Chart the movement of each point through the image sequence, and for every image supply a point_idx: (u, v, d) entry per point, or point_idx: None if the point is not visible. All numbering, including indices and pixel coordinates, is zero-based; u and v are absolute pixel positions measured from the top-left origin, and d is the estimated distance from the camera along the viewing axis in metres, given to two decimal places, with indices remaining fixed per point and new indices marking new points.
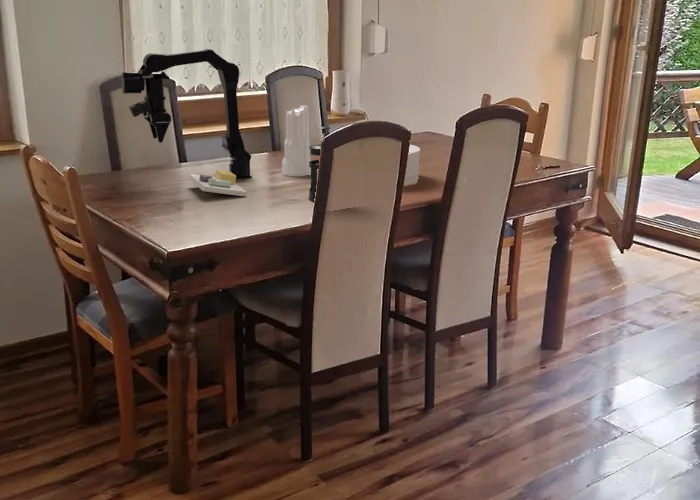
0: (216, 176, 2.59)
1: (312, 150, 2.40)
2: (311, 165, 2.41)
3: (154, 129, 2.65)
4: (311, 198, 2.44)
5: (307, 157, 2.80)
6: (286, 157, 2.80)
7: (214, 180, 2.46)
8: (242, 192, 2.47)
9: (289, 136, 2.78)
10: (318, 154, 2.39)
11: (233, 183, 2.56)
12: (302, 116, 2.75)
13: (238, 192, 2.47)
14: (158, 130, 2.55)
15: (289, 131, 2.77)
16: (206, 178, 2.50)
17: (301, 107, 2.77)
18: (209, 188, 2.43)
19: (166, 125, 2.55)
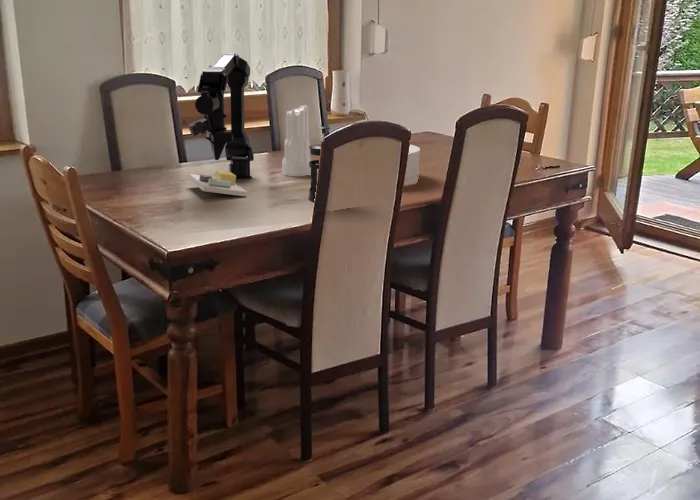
0: (216, 176, 2.59)
1: (312, 150, 2.40)
2: (311, 165, 2.41)
3: None
4: (311, 198, 2.44)
5: (307, 157, 2.80)
6: (286, 157, 2.80)
7: (214, 180, 2.46)
8: (242, 192, 2.47)
9: (289, 136, 2.78)
10: (318, 154, 2.39)
11: (233, 183, 2.56)
12: (302, 116, 2.75)
13: (238, 192, 2.47)
14: (215, 147, 2.47)
15: (289, 131, 2.77)
16: (206, 178, 2.50)
17: (301, 107, 2.77)
18: (209, 188, 2.43)
19: (223, 142, 2.47)
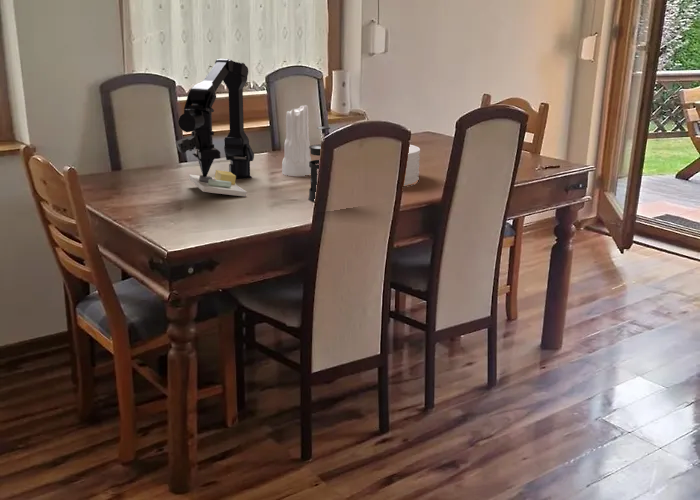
0: (216, 176, 2.59)
1: (312, 150, 2.40)
2: (311, 165, 2.41)
3: None
4: (311, 198, 2.44)
5: (307, 157, 2.80)
6: (286, 157, 2.80)
7: (213, 181, 2.46)
8: (242, 192, 2.47)
9: (289, 136, 2.78)
10: (318, 154, 2.39)
11: (233, 183, 2.56)
12: (302, 116, 2.75)
13: (238, 192, 2.47)
14: (203, 164, 2.48)
15: (289, 131, 2.77)
16: (206, 178, 2.50)
17: (301, 107, 2.77)
18: (209, 189, 2.43)
19: (211, 159, 2.49)
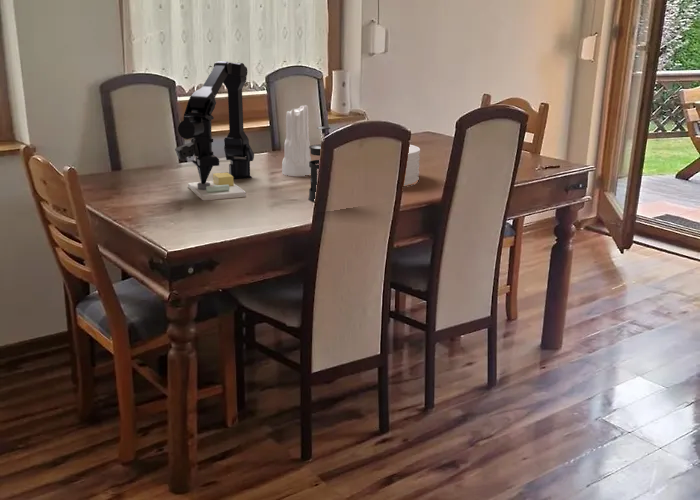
0: (214, 180, 2.59)
1: (312, 150, 2.40)
2: (311, 165, 2.41)
3: None
4: (311, 198, 2.44)
5: (307, 157, 2.80)
6: (286, 157, 2.80)
7: (211, 187, 2.46)
8: (241, 193, 2.47)
9: (289, 136, 2.78)
10: (318, 154, 2.39)
11: (232, 184, 2.56)
12: (302, 116, 2.75)
13: (237, 194, 2.47)
14: (202, 171, 2.49)
15: (289, 131, 2.77)
16: (204, 186, 2.50)
17: (301, 107, 2.77)
18: (208, 196, 2.43)
19: (210, 166, 2.49)
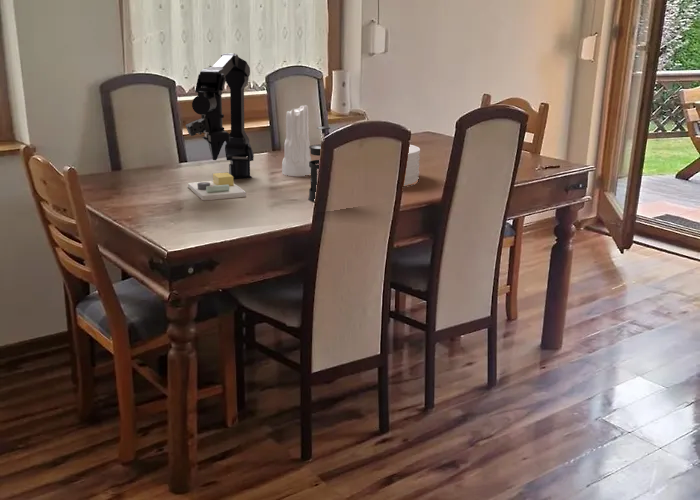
0: (214, 180, 2.59)
1: (312, 150, 2.40)
2: (311, 165, 2.41)
3: None
4: (311, 198, 2.44)
5: (307, 157, 2.80)
6: (286, 157, 2.80)
7: (211, 187, 2.46)
8: (241, 193, 2.47)
9: (289, 136, 2.78)
10: (318, 154, 2.39)
11: (232, 184, 2.56)
12: (302, 116, 2.75)
13: (237, 194, 2.47)
14: (213, 147, 2.47)
15: (289, 131, 2.77)
16: (204, 186, 2.50)
17: (301, 107, 2.77)
18: (208, 196, 2.43)
19: (221, 142, 2.47)
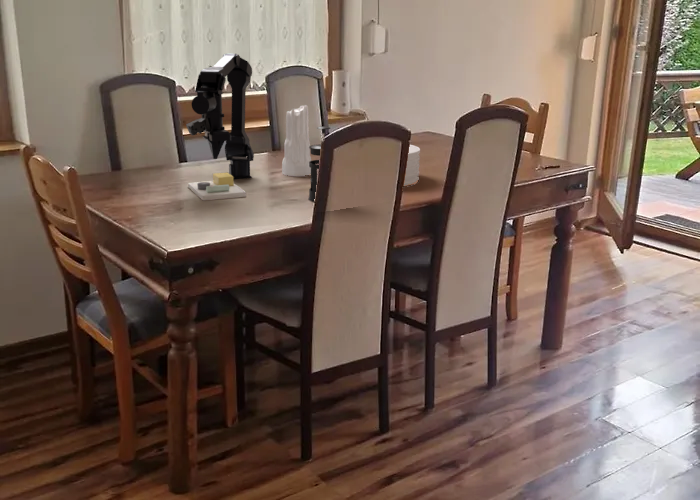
0: (214, 180, 2.59)
1: (312, 150, 2.40)
2: (311, 165, 2.41)
3: None
4: (311, 198, 2.44)
5: (307, 157, 2.80)
6: (286, 157, 2.80)
7: (211, 187, 2.46)
8: (241, 193, 2.47)
9: (289, 136, 2.78)
10: (318, 154, 2.39)
11: (232, 184, 2.56)
12: (302, 116, 2.75)
13: (237, 194, 2.47)
14: (213, 147, 2.49)
15: (289, 131, 2.77)
16: (204, 186, 2.50)
17: (301, 107, 2.77)
18: (208, 196, 2.43)
19: (221, 141, 2.49)
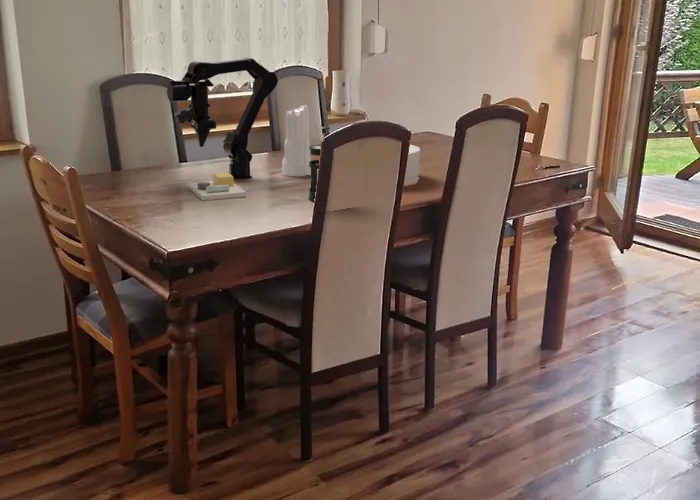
0: (214, 180, 2.59)
1: (312, 150, 2.40)
2: (311, 165, 2.41)
3: None
4: (311, 198, 2.44)
5: (307, 157, 2.80)
6: (286, 157, 2.80)
7: (211, 187, 2.46)
8: (241, 193, 2.47)
9: (289, 136, 2.78)
10: (318, 154, 2.39)
11: (232, 184, 2.56)
12: (302, 116, 2.75)
13: (237, 194, 2.47)
14: (200, 135, 2.64)
15: (289, 131, 2.77)
16: (204, 186, 2.50)
17: (301, 107, 2.77)
18: (208, 196, 2.43)
19: (207, 130, 2.64)
